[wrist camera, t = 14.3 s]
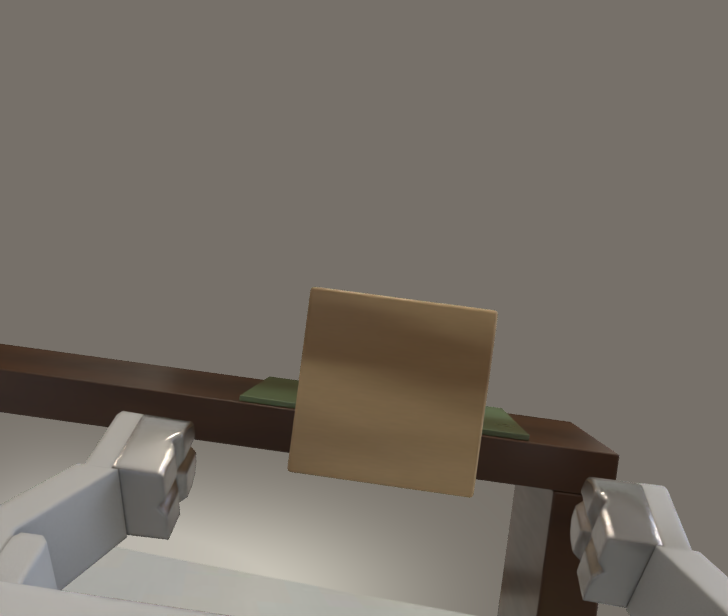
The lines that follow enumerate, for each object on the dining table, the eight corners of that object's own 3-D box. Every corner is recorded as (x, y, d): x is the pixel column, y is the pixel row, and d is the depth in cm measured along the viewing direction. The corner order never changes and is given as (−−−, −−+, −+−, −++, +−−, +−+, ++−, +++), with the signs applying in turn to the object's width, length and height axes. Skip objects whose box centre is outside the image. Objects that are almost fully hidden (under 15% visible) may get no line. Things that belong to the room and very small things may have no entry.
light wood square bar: (473, 499, 14) (498, 310, 14) (286, 472, 14) (310, 286, 14) (422, 375, 37) (432, 304, 37) (351, 365, 37) (361, 294, 37)
